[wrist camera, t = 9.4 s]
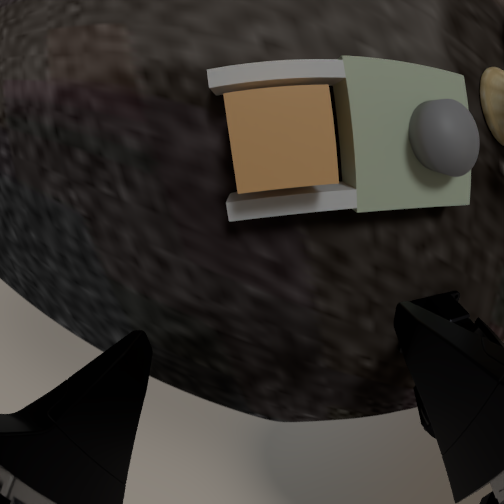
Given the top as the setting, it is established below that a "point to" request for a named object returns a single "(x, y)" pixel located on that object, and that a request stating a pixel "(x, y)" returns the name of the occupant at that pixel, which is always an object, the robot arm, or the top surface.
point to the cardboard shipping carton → (282, 137)
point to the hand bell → (493, 101)
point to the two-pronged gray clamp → (372, 135)
